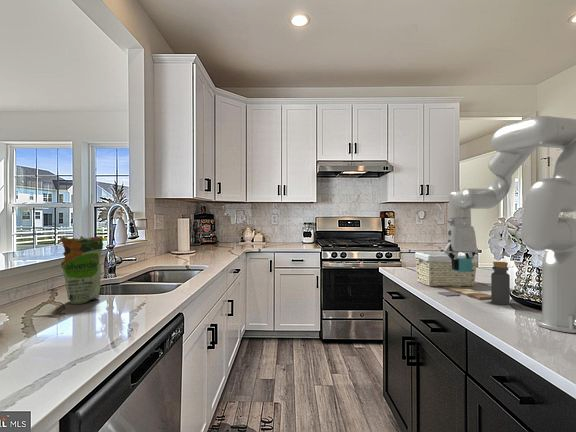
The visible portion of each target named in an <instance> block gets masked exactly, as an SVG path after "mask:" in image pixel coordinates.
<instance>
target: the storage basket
mask: <svg viewBox="0 0 576 432" xmlns="http://www.w3.org/2000/svg"><path fill="white" fill-rule="evenodd" d="M454 254H455V253H454ZM414 257H415V267H416V268H415V269H416V280H417V282H419V283H421V284H423V285H426V286H428V287H451V286H460V287H474V286H475V283H476V282H475V279H476V273H477V265H478V261H479V255H478V254H475V255H474V257H473V259H472V272H457V271H452V260H451V259H450V257H449V256H448V255H447V254H446V253H445V252H444V251H415V253H414ZM457 258H466V257H465V253H464V252H459V253H458V257H457Z"/></svg>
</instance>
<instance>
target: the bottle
mask: <svg viewBox="0 0 576 432" xmlns="http://www.w3.org/2000/svg"><path fill="white" fill-rule="evenodd" d="M492 264H493V266H492V267H491V268H492V270H493V272H492V273H491V277H490V279H491V280H490V282H491V283H490V284H491V285H490V287H491V288H490V291H491V292H490V293H491V294H490V295H491V299H490V300H491V303H492V304H495V305H500V306H501V305H502V306H506V305H507V306H508V305H510V303H511V294H510V293H511V283H510V282H511V278H510V277H511V276H510V274H509V273H508V271H509V267H508V264H509V263H508V262H507V261H493V262H492Z"/></svg>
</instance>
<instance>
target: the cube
mask: <svg viewBox="0 0 576 432" xmlns="http://www.w3.org/2000/svg"><path fill="white" fill-rule="evenodd" d="M457 260H458V263H459V270H452V271H457V272H472V259H471V258H457Z"/></svg>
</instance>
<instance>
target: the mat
mask: <svg viewBox="0 0 576 432" xmlns="http://www.w3.org/2000/svg"><path fill="white" fill-rule="evenodd" d="M437 294H439V295H443V296H446V297H458V296H459V297H460V296H461V294H459V293H455V292H452V291H438V292H437Z"/></svg>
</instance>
